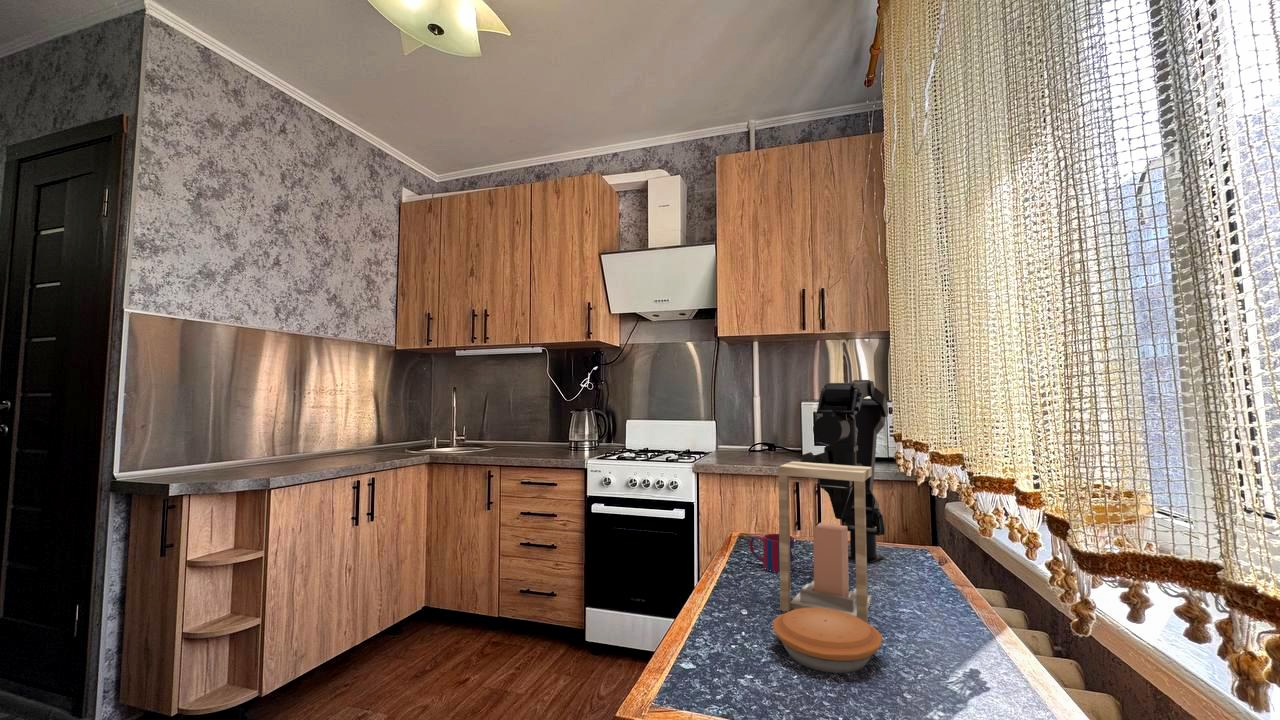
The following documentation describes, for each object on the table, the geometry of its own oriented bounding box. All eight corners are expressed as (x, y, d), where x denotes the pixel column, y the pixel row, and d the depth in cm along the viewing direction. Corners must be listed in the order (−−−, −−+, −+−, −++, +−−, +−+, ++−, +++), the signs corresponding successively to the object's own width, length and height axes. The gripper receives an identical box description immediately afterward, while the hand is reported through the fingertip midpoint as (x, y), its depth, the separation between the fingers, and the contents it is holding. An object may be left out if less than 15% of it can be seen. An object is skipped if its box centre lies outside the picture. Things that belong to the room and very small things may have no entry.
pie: (785, 625, 92) (785, 594, 92) (886, 645, 85) (886, 612, 85) (760, 664, 78) (760, 629, 79) (877, 693, 71) (876, 653, 71)
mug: (786, 575, 117) (786, 543, 117) (744, 566, 123) (744, 535, 123) (799, 567, 122) (799, 536, 122) (758, 559, 128) (758, 529, 129)
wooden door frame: (801, 587, 109) (799, 458, 111) (879, 601, 102) (876, 463, 103) (780, 610, 98) (778, 466, 99) (866, 628, 90) (863, 472, 92)
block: (821, 592, 104) (820, 522, 105) (848, 597, 101) (847, 526, 102) (814, 600, 100) (813, 528, 101) (842, 606, 97) (841, 531, 98)
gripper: (814, 436, 130) (815, 503, 129) (791, 442, 114) (792, 518, 113) (864, 438, 124) (866, 508, 123) (848, 445, 108) (849, 525, 107)
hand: (843, 514), depth 116 cm, fingers open, 9 cm apart
